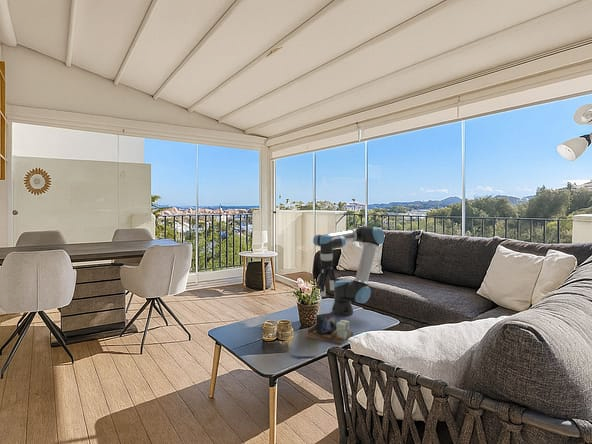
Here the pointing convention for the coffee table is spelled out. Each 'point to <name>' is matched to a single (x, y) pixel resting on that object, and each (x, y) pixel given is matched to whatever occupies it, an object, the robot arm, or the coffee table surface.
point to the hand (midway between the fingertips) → (327, 293)
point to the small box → (325, 323)
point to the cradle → (336, 337)
